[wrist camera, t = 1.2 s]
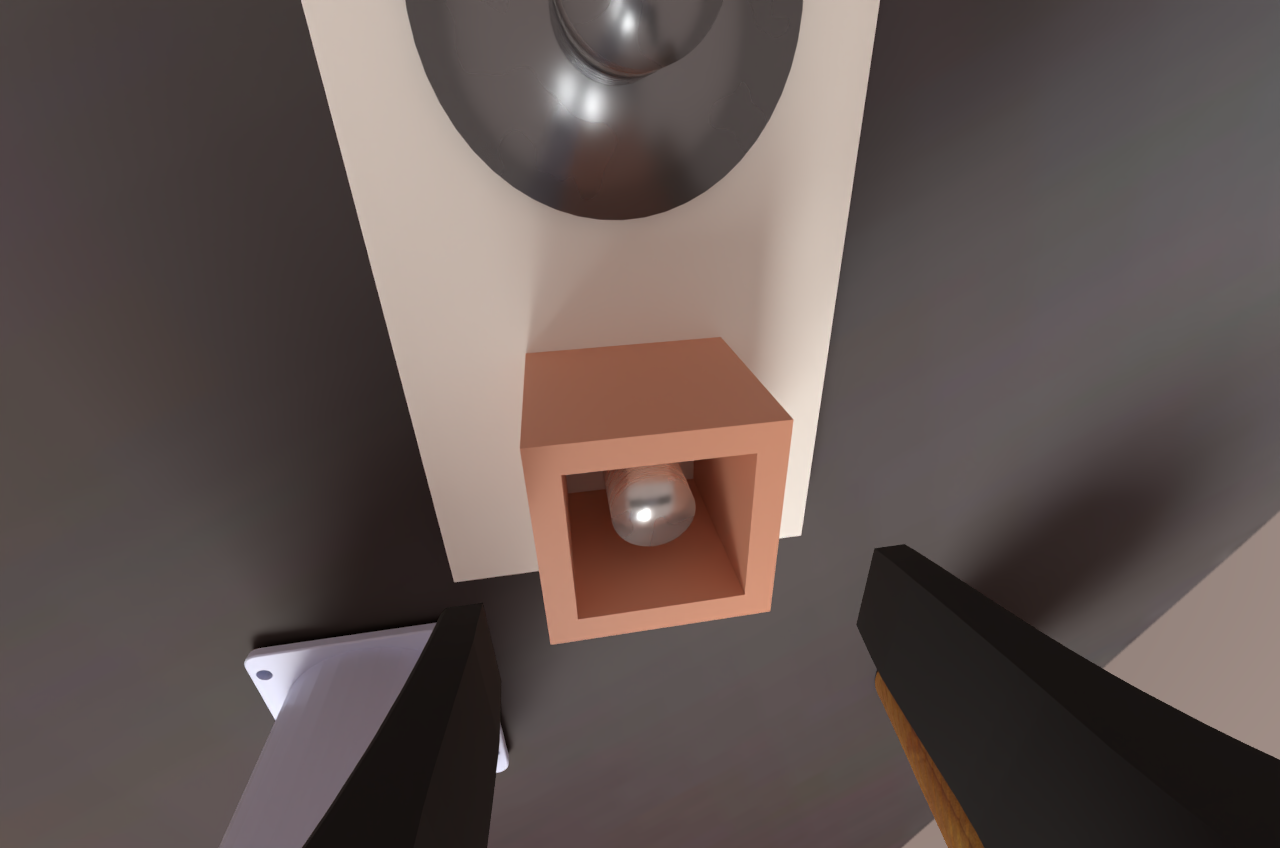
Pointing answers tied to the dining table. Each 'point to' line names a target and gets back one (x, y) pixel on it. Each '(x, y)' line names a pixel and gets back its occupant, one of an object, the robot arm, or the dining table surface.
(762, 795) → the dining table surface
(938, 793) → the disposable coffee cup
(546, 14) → the disc
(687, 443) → the collar
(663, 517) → the stand rod
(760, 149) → the board
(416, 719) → the robot arm
